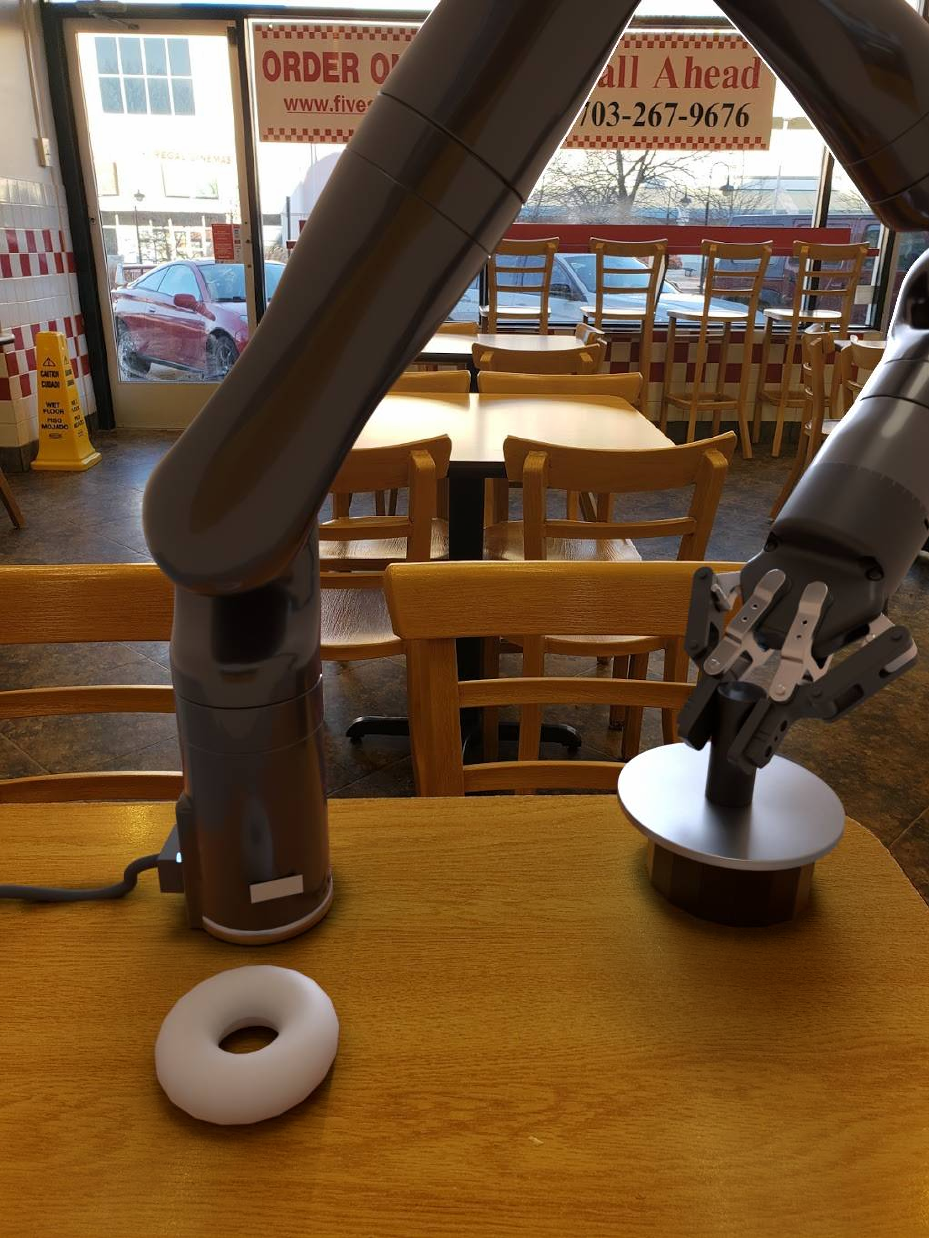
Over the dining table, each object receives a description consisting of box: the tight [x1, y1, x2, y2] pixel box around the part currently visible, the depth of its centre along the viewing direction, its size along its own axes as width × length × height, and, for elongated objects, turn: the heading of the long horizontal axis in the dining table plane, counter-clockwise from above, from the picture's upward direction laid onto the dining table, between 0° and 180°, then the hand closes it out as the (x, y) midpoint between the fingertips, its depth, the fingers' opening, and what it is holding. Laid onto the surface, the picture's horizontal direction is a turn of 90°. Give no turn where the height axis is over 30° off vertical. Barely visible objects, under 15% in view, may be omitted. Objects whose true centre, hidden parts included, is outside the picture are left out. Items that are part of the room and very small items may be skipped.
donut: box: [154, 964, 340, 1126], centre depth 52 cm, size 10×4×10 cm
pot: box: [645, 740, 818, 929], centre depth 67 cm, size 11×11×8 cm
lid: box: [616, 681, 847, 871], centre depth 52 cm, size 12×12×8 cm
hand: (713, 753), depth 50 cm, fingers closed on lid, 2 cm apart
